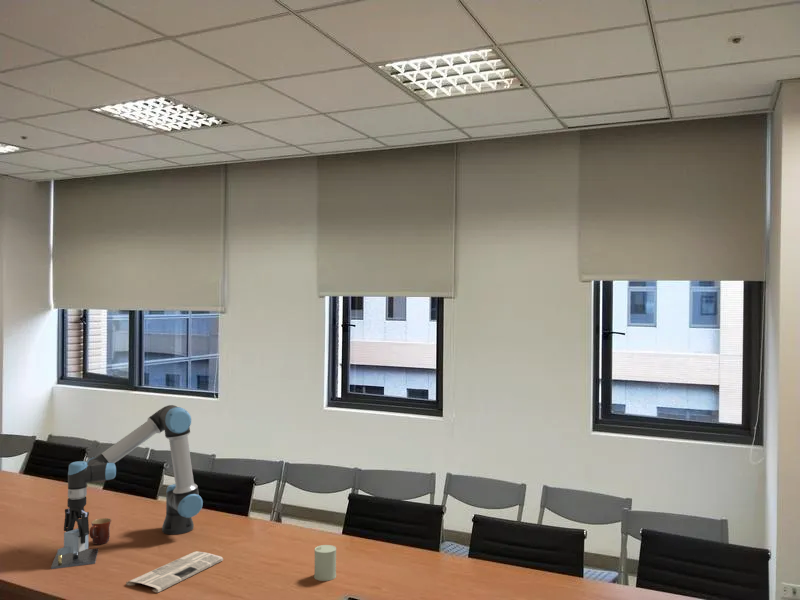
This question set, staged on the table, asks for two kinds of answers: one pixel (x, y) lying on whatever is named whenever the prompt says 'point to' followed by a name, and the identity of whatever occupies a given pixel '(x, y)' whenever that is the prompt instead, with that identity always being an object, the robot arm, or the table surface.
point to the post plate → (75, 559)
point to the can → (325, 562)
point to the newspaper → (177, 570)
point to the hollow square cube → (71, 542)
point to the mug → (100, 531)
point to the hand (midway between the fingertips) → (75, 549)
